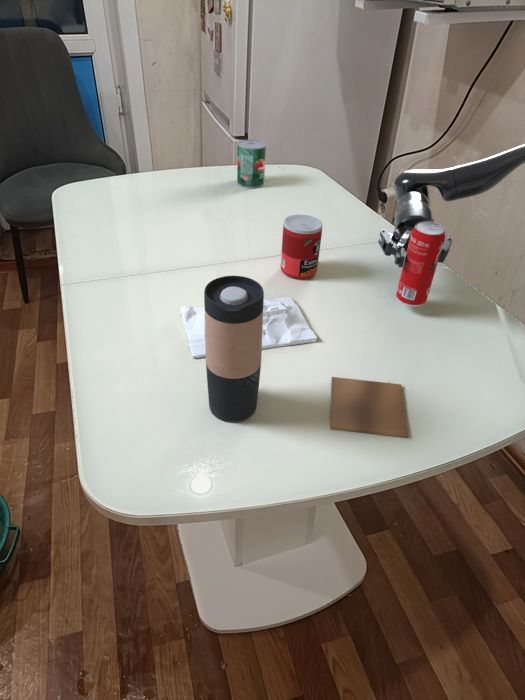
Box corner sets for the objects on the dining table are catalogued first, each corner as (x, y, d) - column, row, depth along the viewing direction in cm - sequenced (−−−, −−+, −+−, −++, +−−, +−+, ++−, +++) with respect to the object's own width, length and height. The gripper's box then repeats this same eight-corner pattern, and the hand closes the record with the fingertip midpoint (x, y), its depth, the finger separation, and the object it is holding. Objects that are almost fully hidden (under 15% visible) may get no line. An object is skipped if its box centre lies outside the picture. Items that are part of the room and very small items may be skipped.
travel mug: (236, 381, 80) (238, 268, 68) (269, 407, 76) (277, 293, 63) (197, 402, 76) (190, 287, 64) (229, 432, 72) (229, 314, 59)
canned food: (304, 284, 104) (309, 234, 97) (272, 271, 108) (275, 222, 101) (324, 270, 109) (330, 221, 102) (293, 258, 112) (297, 210, 106)
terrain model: (172, 319, 94) (168, 296, 91) (284, 292, 101) (285, 270, 98) (198, 373, 82) (196, 349, 79) (324, 339, 89) (326, 315, 86)
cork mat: (401, 386, 81) (401, 384, 81) (408, 438, 72) (408, 436, 72) (331, 378, 82) (331, 376, 81) (330, 429, 73) (330, 427, 73)
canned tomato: (266, 188, 144) (267, 148, 137) (238, 188, 143) (238, 148, 136) (262, 178, 150) (263, 139, 144) (235, 178, 149) (236, 139, 143)
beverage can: (426, 310, 95) (454, 238, 85) (391, 304, 95) (415, 232, 85) (424, 292, 99) (450, 222, 90) (391, 286, 100) (413, 216, 90)
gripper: (445, 245, 104) (452, 288, 91) (375, 237, 106) (371, 277, 93) (455, 211, 100) (463, 251, 87) (381, 202, 102) (378, 240, 89)
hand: (415, 264), depth 90 cm, fingers closed on beverage can, 4 cm apart
